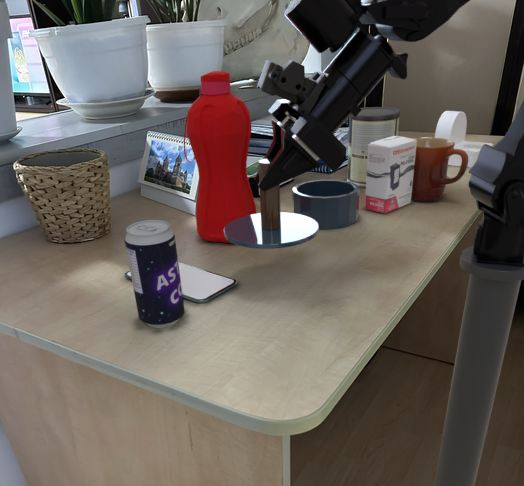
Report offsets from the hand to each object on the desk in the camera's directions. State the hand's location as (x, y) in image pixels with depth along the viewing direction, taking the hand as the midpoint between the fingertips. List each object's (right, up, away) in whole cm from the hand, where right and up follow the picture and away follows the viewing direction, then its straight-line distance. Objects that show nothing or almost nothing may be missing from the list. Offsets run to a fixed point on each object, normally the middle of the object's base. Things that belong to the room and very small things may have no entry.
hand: (258, 185), depth 69 cm
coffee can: (+24, +16, +49) cm, 57 cm away
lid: (+2, -5, +3) cm, 6 cm away
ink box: (+24, +6, +34) cm, 42 cm away
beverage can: (-12, -17, -1) cm, 21 cm away
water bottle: (-6, -1, +24) cm, 25 cm away
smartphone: (-11, -11, +9) cm, 18 cm away
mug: (+33, +8, +36) cm, 50 cm away
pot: (+12, +3, +29) cm, 32 cm away
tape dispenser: (+45, +25, +62) cm, 81 cm away
